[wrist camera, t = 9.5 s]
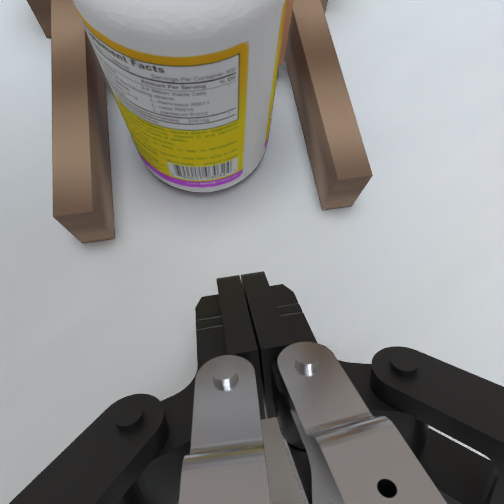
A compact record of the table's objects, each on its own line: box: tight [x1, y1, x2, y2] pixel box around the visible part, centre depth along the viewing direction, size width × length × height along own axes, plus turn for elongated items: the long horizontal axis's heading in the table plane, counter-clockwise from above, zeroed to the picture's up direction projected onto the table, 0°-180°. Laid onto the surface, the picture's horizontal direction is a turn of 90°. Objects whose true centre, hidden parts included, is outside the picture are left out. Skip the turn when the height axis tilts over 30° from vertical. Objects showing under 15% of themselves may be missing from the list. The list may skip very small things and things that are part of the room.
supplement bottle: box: [73, 0, 288, 192], centre depth 14 cm, size 7×7×13 cm
